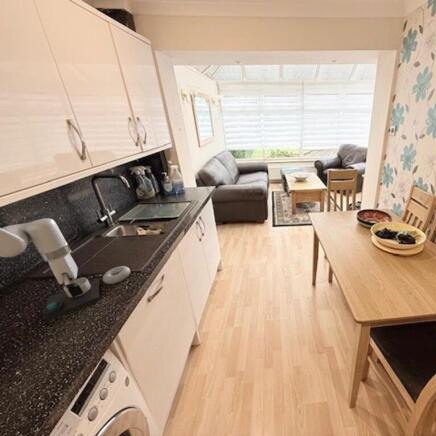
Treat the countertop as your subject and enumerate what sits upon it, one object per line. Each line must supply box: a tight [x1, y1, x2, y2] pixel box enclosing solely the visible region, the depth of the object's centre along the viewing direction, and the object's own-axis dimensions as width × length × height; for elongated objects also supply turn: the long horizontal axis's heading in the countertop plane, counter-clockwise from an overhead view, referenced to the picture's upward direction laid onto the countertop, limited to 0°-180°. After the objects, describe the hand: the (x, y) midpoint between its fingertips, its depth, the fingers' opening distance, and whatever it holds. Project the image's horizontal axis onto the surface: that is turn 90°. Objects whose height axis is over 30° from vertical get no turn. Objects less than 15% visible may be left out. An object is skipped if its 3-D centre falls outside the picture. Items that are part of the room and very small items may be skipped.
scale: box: [41, 278, 101, 323], centre depth 92 cm, size 16×14×3 cm
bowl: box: [63, 277, 91, 297], centre depth 93 cm, size 7×7×4 cm
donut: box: [102, 265, 131, 285], centre depth 102 cm, size 10×4×10 cm
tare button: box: [47, 302, 58, 310], centre depth 85 cm, size 3×3×1 cm
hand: (78, 289), depth 93 cm, fingers closed on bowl, 7 cm apart
